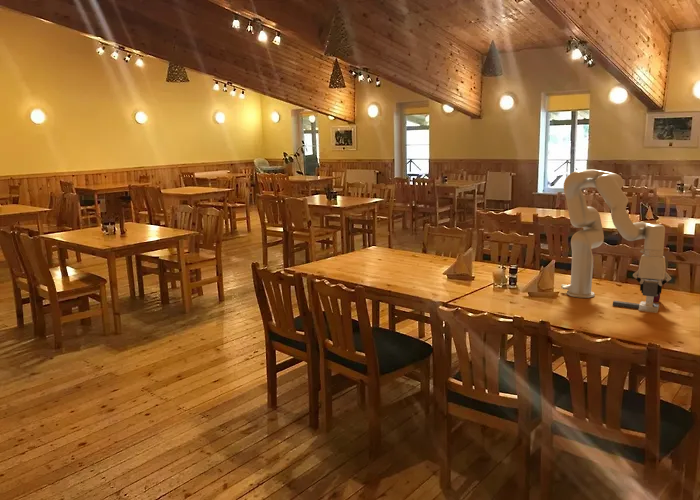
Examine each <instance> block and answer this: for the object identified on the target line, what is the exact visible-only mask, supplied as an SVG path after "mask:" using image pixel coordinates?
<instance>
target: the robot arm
mask: <svg viewBox="0 0 700 500" xmlns="http://www.w3.org/2000/svg"><path fill="white" fill-rule="evenodd" d="M623 186H624V180H623V178H622V176H621V175H620V174H617V173H614V172H610V171H604V170H598V169H579V170H575V171H572V172H571V173H570V174H568V175H567V176H566V178H565V180H564V183H563V191H564V196H565V199H566V200H565V201H566V206H567V210H568V217H569V221H570V225H572V227H574V228H579V229H580V228H582V230H579V231H578V230H577V232H575V233H574V234H572V237H571V239H570V247H571V270H570V284H568V285H567V284H561V285H560V287H561V289H562V290H567V291H566V295H568V296H569V297H572V298H578V299H579V298H580V299H590V298H593V297H595V295H596V294H595V292H594V291H592V286H593V285H592V283H593V272H594V271H593V270H594V255H593V251H592V250H593V249H596V248H599V247H601V245H602V244H603V243H604V239H605V236H604V230H603V229H604V228H603V225H602V219H601V215H600V213H599V211H598V210H597V209H596V208H595V207H593V206H588V205H587V199H586V196H585V194H584V192H583V191H582V190H583V189H585V188H587V189H588V188H594V189H596V190H597V192H598V194H600V196H601V198H602V199H603V200H604V202H605V204H606V205H607V206H608V208H609V210H610V215H611V220H612V224H613V226H614V227H615V229H616V230H617V232H618V233H619V234H620V236H621V237H622V238H623V239H624V240H626V241H629V242H633V241H638V240H643V239H644V246H643V248H641V249H640V250H639V252H640V253H641V254H642V255H641V256H640V259H639V260H640V261H639V267H638V270H637V271H635V272H634V273H633V274H632V277H633V278H634V279H636V281H637V282H638V283H639V291H640V292H641V293H640V294H643V282H644V280H645V279H647V280H648V279H653V280H658V283H659V285H658V292H657V295H659V294H660V293H661V294H662V288H663V285H665V284H667V283H668V282H669V281H671V280H672V277H671V276H670V275H669V273H668V272H667V271H666V257H665V256H664V249H665V238H666V237H665V236H666V228H665V226H664V225H663V224H658V223H648V222H643V221H637V222H633V221H632V219H631V218H630V217H629V215H628V212H627V205H628V203H629V198H628V197H627V195H626V194H625V193H624V190H623V189H622V188H623ZM662 280H663V281H662ZM661 294H660V295H661Z"/></svg>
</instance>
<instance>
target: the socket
mask: <svg viewBox="0 0 700 500" xmlns="http://www.w3.org/2000/svg"><path fill="white" fill-rule="evenodd" d="M658 285H659V283H658V281H657V280H648V279H645V280H644V282H643V293H642V296H645V297H646V296H653V297H657V292H658Z"/></svg>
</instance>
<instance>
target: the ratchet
mask: <svg viewBox="0 0 700 500" xmlns="http://www.w3.org/2000/svg"><path fill="white" fill-rule="evenodd" d="M653 298H654V297H653V296H645V301H642V300H641V301H640V302H639V303H638V302H637V303H635V302H628V301H620V300H613V301H612V306H613V307H621V308H629V309H633V310H634V309H635V310H638V311H639V312H646V313H655V314H658V311H659V309H660V303H659V302H653Z"/></svg>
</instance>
